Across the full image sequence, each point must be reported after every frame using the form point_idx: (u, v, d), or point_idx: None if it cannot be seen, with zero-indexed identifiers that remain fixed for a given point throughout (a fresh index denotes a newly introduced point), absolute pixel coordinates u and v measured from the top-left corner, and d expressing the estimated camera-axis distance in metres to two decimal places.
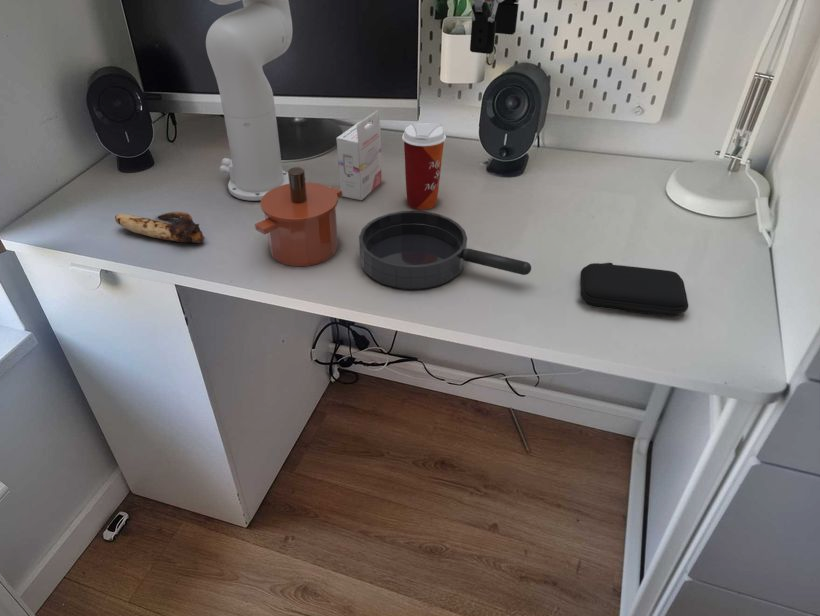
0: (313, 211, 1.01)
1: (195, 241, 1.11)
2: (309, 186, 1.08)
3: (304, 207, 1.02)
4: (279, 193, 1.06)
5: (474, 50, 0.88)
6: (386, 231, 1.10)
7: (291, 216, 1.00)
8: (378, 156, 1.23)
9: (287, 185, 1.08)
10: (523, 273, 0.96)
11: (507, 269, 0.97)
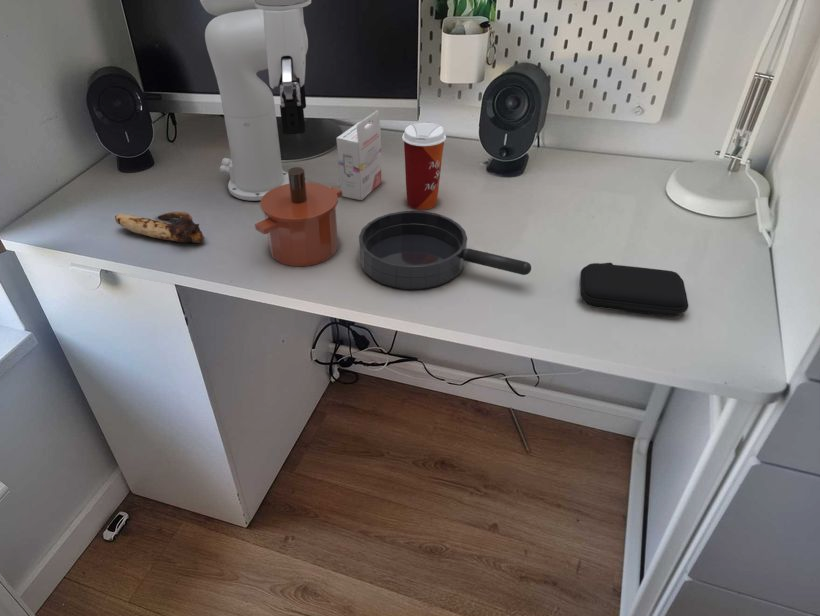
0: (313, 211, 1.01)
1: (195, 241, 1.11)
2: (309, 186, 1.08)
3: (304, 207, 1.02)
4: (279, 193, 1.06)
5: (287, 132, 0.92)
6: (386, 231, 1.10)
7: (291, 216, 1.00)
8: (378, 156, 1.23)
9: (287, 185, 1.08)
10: (523, 273, 0.96)
11: (507, 269, 0.97)
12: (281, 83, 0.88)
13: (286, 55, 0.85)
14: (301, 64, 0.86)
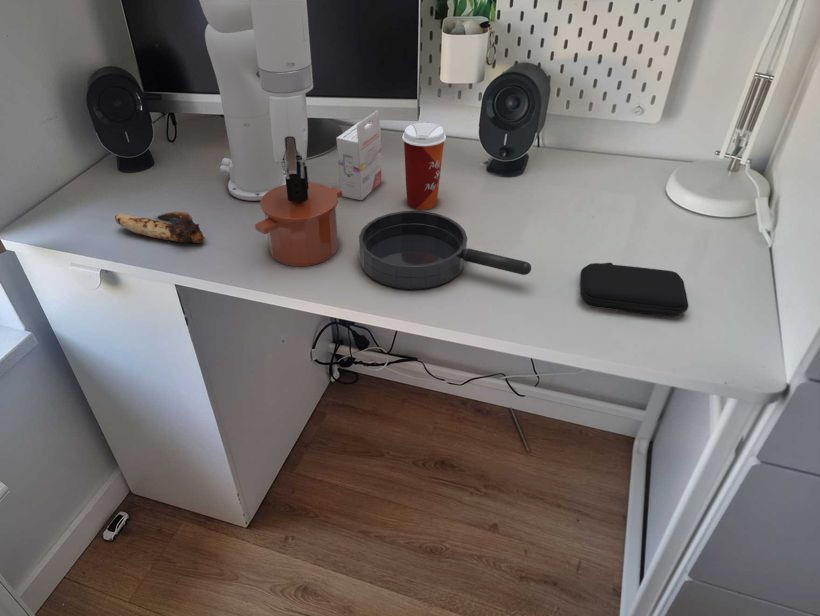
0: (313, 211, 1.01)
1: (195, 241, 1.11)
2: (309, 186, 1.08)
3: (304, 207, 1.02)
4: (279, 193, 1.06)
5: (292, 199, 1.02)
6: (386, 231, 1.10)
7: (291, 216, 1.00)
8: (378, 156, 1.23)
9: None
10: (523, 273, 0.96)
11: (507, 269, 0.97)
12: (286, 161, 0.97)
13: (289, 135, 0.92)
14: (303, 143, 0.93)
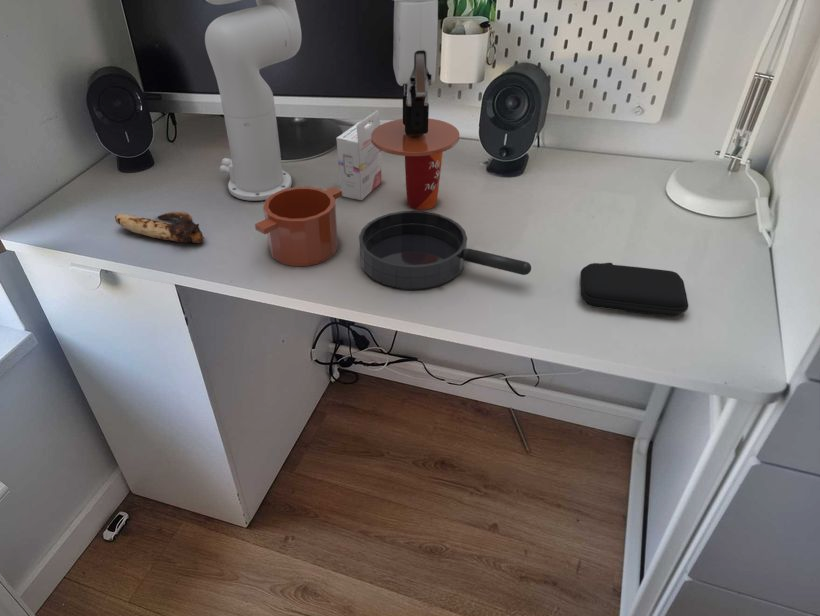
0: (435, 144, 0.89)
1: (195, 241, 1.11)
2: None
3: (423, 141, 0.90)
4: (390, 128, 0.94)
5: (410, 132, 0.90)
6: (386, 231, 1.10)
7: (411, 149, 0.88)
8: (378, 156, 1.23)
9: (397, 121, 0.96)
10: (523, 273, 0.96)
11: (507, 269, 0.97)
12: (409, 84, 0.85)
13: (420, 50, 0.80)
14: (435, 59, 0.81)
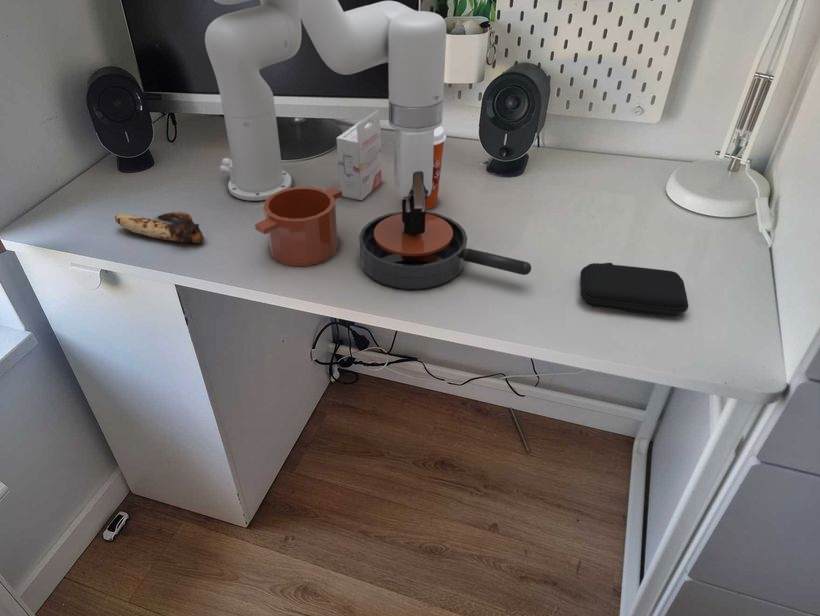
0: (431, 244, 0.99)
1: (195, 241, 1.11)
2: None
3: (421, 240, 1.00)
4: (391, 225, 1.04)
5: (408, 232, 1.00)
6: None
7: (410, 250, 0.98)
8: (378, 156, 1.23)
9: (397, 216, 1.06)
10: (523, 273, 0.96)
11: (507, 269, 0.97)
12: (408, 195, 0.95)
13: (418, 170, 0.90)
14: (431, 178, 0.91)
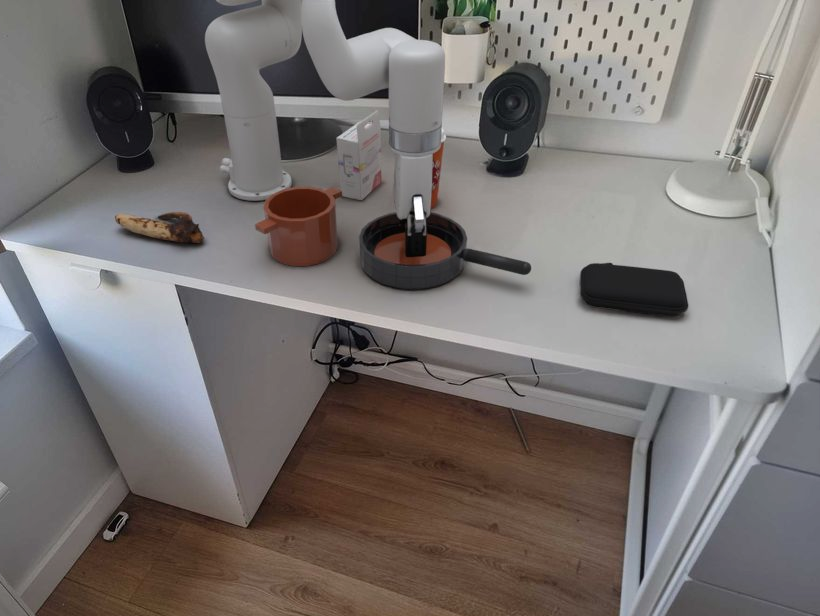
0: None
1: (195, 241, 1.11)
2: None
3: (420, 260, 1.03)
4: (391, 244, 1.07)
5: (409, 255, 0.99)
6: (386, 231, 1.10)
7: None
8: (378, 156, 1.23)
9: (396, 235, 1.09)
10: (523, 273, 0.96)
11: (507, 269, 0.97)
12: (409, 215, 0.96)
13: (417, 193, 0.93)
14: (430, 200, 0.94)
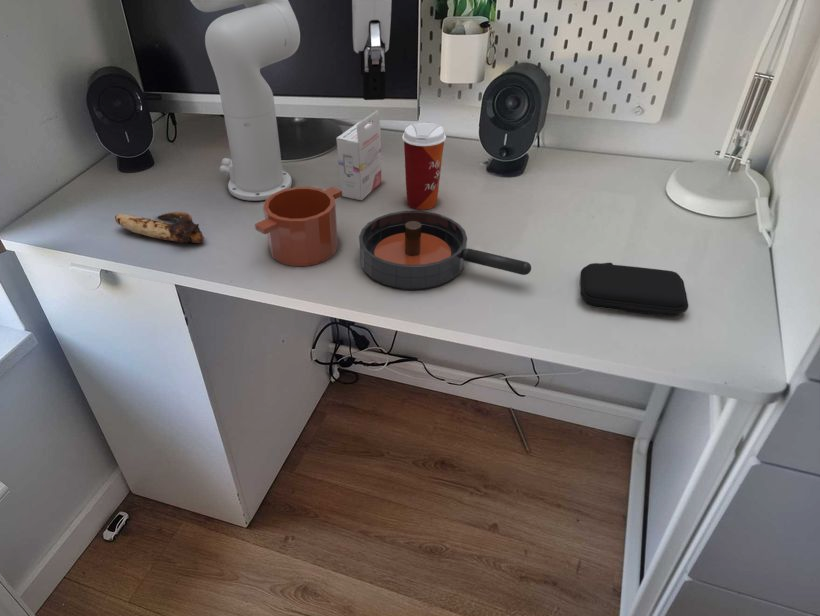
0: None
1: (195, 241, 1.11)
2: None
3: (420, 260, 1.03)
4: (391, 244, 1.07)
5: (367, 98, 0.92)
6: (386, 231, 1.10)
7: None
8: (378, 156, 1.23)
9: (396, 235, 1.09)
10: (523, 273, 0.96)
11: (507, 269, 0.97)
12: (366, 48, 0.88)
13: (374, 19, 0.85)
14: (388, 29, 0.86)
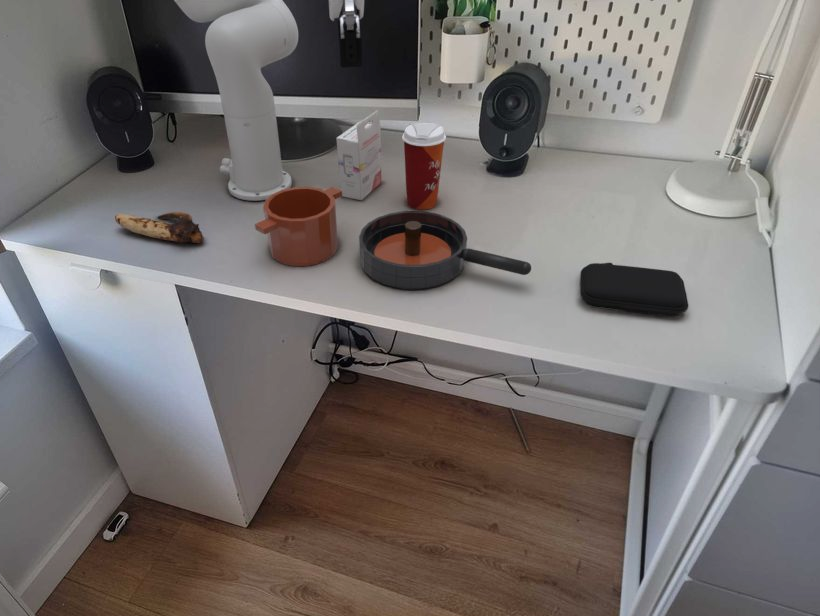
0: None
1: (195, 241, 1.11)
2: None
3: (420, 260, 1.03)
4: (391, 244, 1.07)
5: (345, 65, 0.94)
6: (386, 231, 1.10)
7: None
8: (378, 156, 1.23)
9: (396, 235, 1.09)
10: (523, 273, 0.96)
11: (507, 269, 0.97)
12: (341, 15, 0.90)
13: None
14: None
